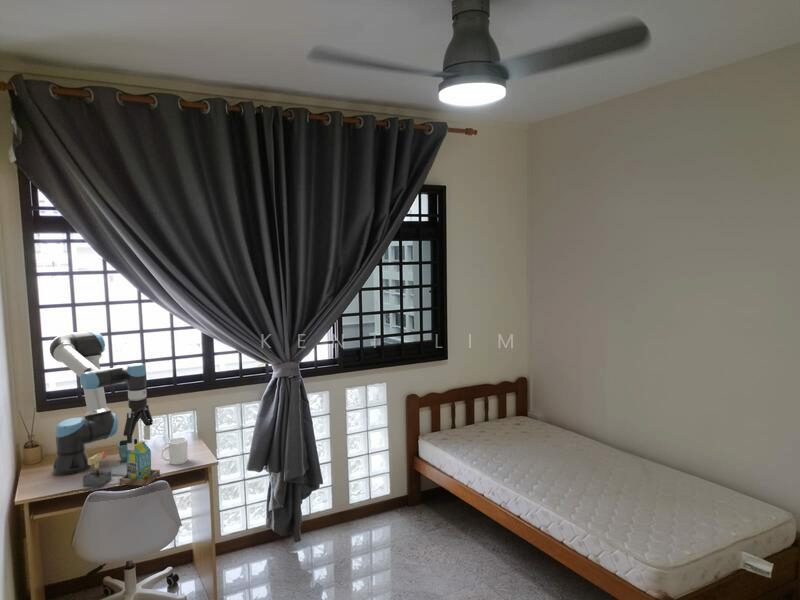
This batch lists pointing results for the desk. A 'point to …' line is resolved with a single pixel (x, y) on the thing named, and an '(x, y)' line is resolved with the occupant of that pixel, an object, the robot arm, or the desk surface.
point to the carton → (139, 462)
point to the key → (96, 460)
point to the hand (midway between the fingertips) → (139, 444)
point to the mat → (120, 470)
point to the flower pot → (124, 449)
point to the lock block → (97, 478)
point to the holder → (143, 482)
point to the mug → (177, 451)
